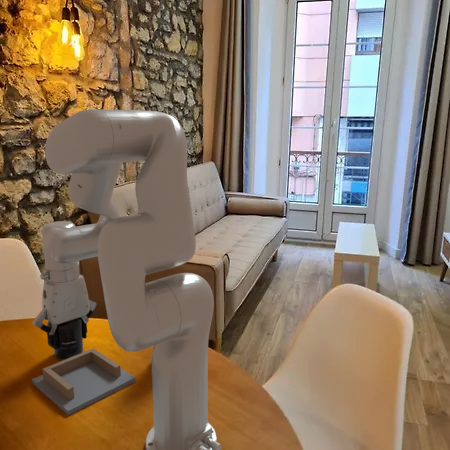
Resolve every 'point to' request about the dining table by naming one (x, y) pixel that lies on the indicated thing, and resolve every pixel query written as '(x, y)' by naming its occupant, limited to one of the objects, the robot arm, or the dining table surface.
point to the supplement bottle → (69, 339)
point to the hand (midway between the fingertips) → (68, 341)
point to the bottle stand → (82, 380)
